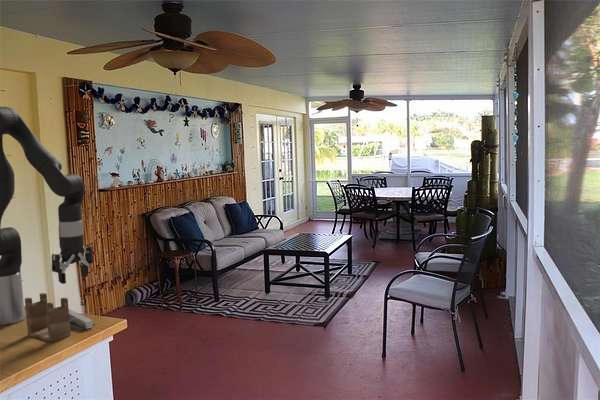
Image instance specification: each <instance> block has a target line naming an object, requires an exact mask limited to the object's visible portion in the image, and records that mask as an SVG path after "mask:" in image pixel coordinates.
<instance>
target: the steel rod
mask: <svg viewBox="0 0 600 400" xmlns="http://www.w3.org/2000/svg"><path fill="white" fill-rule="evenodd" d="M69 320H70V321H71V322H73V323H75V324H77V325H79V326H81V327H83V328H85V329H84V330H87V329H91V328H93V327H94V325H93V323H94V321H93V319H90V318H89V317H87V316H84V315H82V314H81V313H78V312H77V311H74V310H72V309H70V308H69Z"/></svg>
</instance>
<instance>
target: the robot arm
mask: <svg viewBox="0 0 600 400" xmlns="http://www.w3.org/2000/svg"><path fill="white" fill-rule="evenodd" d="M4 135H9V136H11V137H12V138H13V139H14V140H16V141H17V142H18V143H19V144H20V146H21V148H22V150H23V154H24V156H25V158H26V160H27V161H28V163H29V164H30V165H31V167H33V168H34V169H35V170H36V171H37V172H38V173H39V174H40V175H41V176H42V177H43V179H44V182H45V183H46V184H47V187H48V188H49V189H50V190H51V191H52V192H53V194H55V195H56V196H58V197H63V198H64V199H63V202H62V203H60V204H59V205H58V208H57V212H58V214H57V215H58V243H59V248H60V253H52V254H51V271H52V272H53V273H57V277H58V282H59V283H60V284H62V285H65V284H67V279H66V277H67V276H66V270H67V269H68V268H69V266H70V265H72V264H75V263H79V264H80V265H81V266H80V267H81V268H80V269H81V277H83V278H87V277H88V276H89V266H90V265H91V264H93V263H94V258H93V249H92V246H87V245H85V241H84V239H85V238H84V225H83V220H82V204H83V199H84V195H85V194H84V193H85V183H84V181H83V178H82V177H81V175H78V174H76V173H69V174H64V173H63V172H62V169H63V165H62V163H61V162H60V161H59V160H58V159H57V158H56V157H55V156H54V155H53V154H52V153H51V152H50V151H49V150H48V149H47V148H46V147H45V146H44V145H43V144H42V143H41V142H40V140H39V139H38V138H37V136H36V135H35V133H34V132H33V131H32V130H31V128H29V126H28V125H27V123H26V122H25V120H23V118H22V117H21V116H20V114H19V113H18V112H17V111H16V109H14V108H12V107H10V106H0V326H1V325H10V324H11V325H12V324H17V323H18V322H21V321H23V320H25V319H26V311H25V300H24V293H23V284H22V283H23V282H22V272H21V267H22V263H23V259H22V257H23V256H22V240H21V235H20V233H19V231H18V230H17V229H16V228H15V227H12V226H11V227H10V226H9V227H3V228H1V226H2V225H1V224H2V218H3V216H4V214H5V212H6V210H7V208H8V206H9V205H10V203H11V201H12V199H13V197H14V194H15V190H16V189H15V185H16V182H15V180H16V179H15V171H14V169H13V167H12V165H11V163H10V161H9V160H8V158H7V156H6V154H5V152H4V146H3V145H4V143H3V136H4ZM84 245H85V246H84ZM83 255H84V256H83Z"/></svg>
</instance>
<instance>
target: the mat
mask: <svg viewBox="0 0 600 400" xmlns="http://www.w3.org/2000/svg"><path fill="white" fill-rule="evenodd" d="M95 325H96V323H94V322H93V326H95ZM71 329H72V330H75V331H78V332H81V331H83V330H86V329H85V328H83V327H81V326H79V325H77V324H75V323H73V322H71V321H70V330H71Z"/></svg>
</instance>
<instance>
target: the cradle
mask: <svg viewBox="0 0 600 400" xmlns="http://www.w3.org/2000/svg"><path fill="white" fill-rule="evenodd" d="M24 309H25V319H26V326H27V328H26V329H27V335H28V336H31V337H33V338H38V339H41V340H44V341H46V342H50V343H56V342H57V341H59V340H63V339H64V338H67V337H70V336H71V335H72V333H71V328H70V320H69V309H70V308H69V299H68V297H62V298H60V306H56V307H54V303H52V302H48V295H47V293H45V292H41V293H39V301H36V302H33V298H32V297H25V298H24Z"/></svg>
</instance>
